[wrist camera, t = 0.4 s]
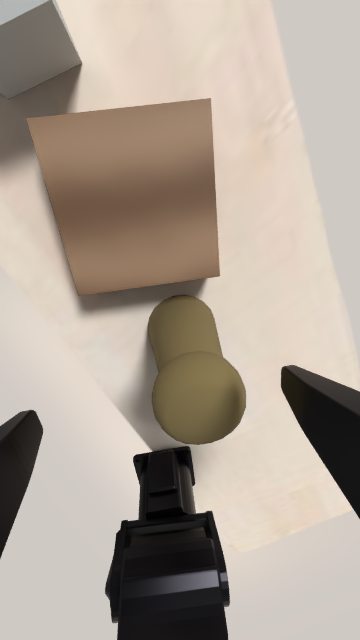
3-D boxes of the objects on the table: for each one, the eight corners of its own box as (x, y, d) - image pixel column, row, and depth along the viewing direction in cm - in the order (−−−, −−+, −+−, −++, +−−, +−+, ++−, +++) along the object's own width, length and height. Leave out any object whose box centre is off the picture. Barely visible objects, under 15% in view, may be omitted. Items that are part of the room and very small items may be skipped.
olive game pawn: (158, 363, 24) (162, 474, 14) (138, 305, 21) (125, 390, 11) (220, 346, 24) (269, 446, 14) (207, 287, 21) (256, 355, 11)
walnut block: (210, 267, 20) (219, 276, 18) (88, 284, 20) (78, 295, 17) (201, 117, 16) (210, 98, 14) (47, 134, 16) (26, 118, 13)
